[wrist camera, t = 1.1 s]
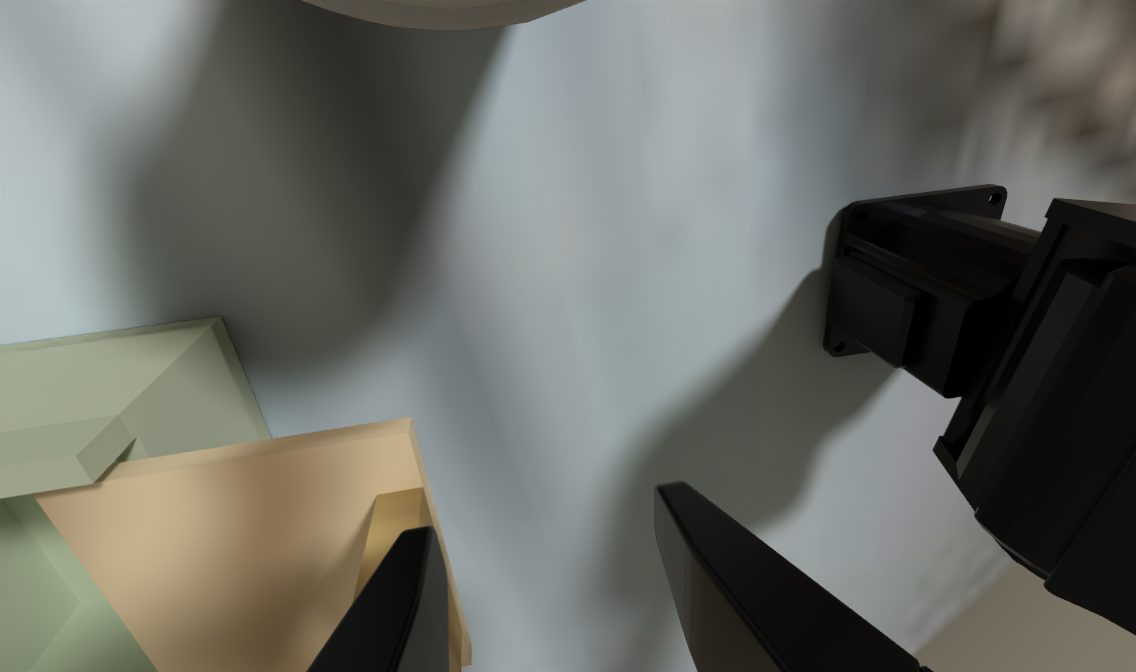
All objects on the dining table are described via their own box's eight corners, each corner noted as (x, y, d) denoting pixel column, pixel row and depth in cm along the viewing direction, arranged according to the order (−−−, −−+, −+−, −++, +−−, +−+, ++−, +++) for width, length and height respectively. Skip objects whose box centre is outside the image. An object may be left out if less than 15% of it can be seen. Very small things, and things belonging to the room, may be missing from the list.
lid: (411, 416, 14) (388, 540, 10) (471, 644, 19) (470, 788, 15) (51, 473, 13) (-113, 629, 10) (203, 698, 18) (130, 865, 14)
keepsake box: (220, 316, 19) (75, 455, 12) (322, 559, 24) (262, 749, 17) (-100, 359, 18) (-458, 538, 11) (81, 602, 23) (-82, 822, 16)
